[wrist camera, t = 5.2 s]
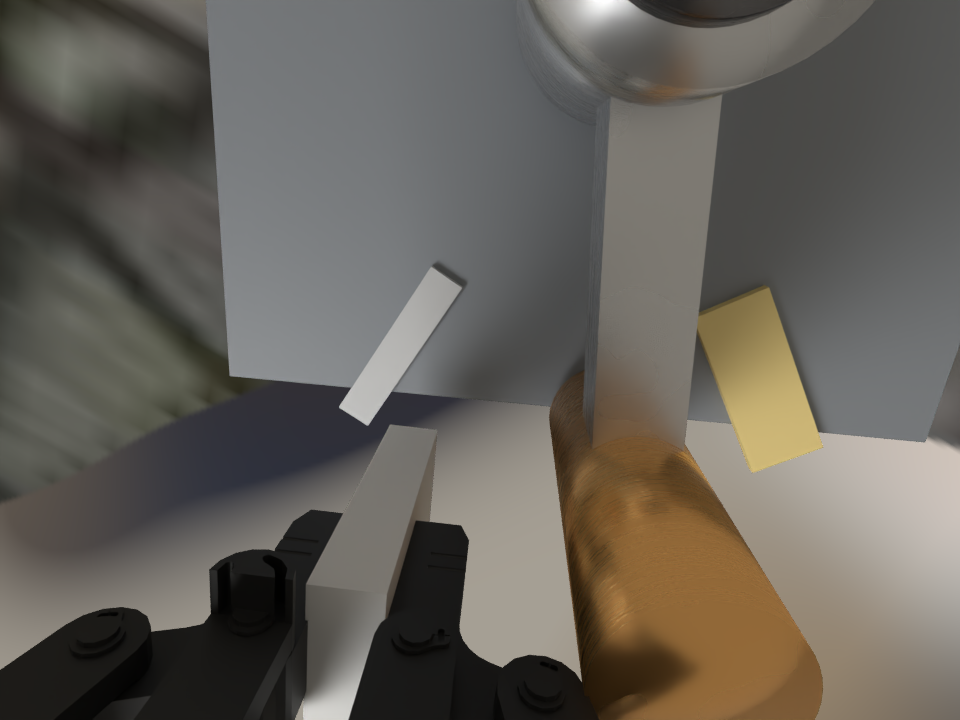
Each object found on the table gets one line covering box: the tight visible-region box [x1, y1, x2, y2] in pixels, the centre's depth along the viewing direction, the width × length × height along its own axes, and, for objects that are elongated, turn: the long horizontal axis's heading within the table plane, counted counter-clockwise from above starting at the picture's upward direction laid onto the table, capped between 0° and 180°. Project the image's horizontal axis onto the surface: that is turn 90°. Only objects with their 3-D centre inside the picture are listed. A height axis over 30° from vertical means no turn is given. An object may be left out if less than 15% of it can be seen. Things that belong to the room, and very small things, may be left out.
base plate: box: [206, 0, 960, 473], centre depth 14 cm, size 20×21×2 cm
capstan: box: [516, 0, 876, 720], centre depth 10 cm, size 14×5×9 cm, turn 1°
